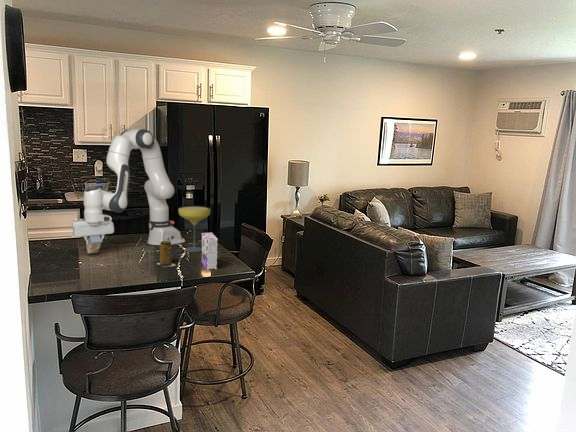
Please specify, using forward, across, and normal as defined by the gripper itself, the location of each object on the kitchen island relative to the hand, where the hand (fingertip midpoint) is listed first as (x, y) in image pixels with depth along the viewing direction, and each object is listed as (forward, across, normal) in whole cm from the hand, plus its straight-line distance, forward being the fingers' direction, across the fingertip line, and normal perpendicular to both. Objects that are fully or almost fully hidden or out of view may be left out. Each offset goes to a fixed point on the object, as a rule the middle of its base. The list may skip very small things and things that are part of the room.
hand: (94, 243), depth 243 cm
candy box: (+8, +45, -44) cm, 63 cm away
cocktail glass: (+8, +53, -11) cm, 55 cm away
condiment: (+8, +27, -31) cm, 42 cm away
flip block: (+4, 0, +5) cm, 7 cm away
